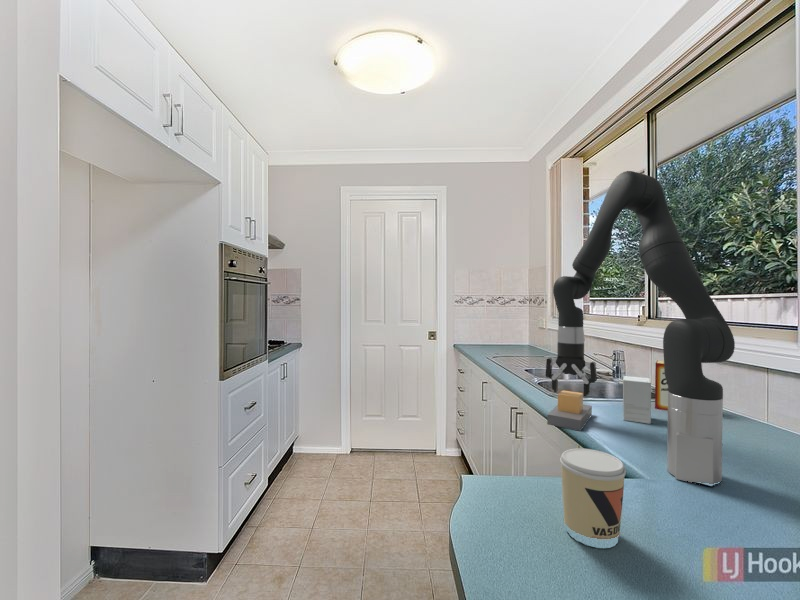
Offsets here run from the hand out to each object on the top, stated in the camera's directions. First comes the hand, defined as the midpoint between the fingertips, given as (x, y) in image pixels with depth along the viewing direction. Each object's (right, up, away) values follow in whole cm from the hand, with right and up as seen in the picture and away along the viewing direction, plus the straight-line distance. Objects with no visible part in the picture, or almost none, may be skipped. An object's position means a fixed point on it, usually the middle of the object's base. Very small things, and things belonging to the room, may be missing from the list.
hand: (570, 393), depth 118 cm
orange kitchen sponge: (0, -5, 0) cm, 5 cm away
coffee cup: (-22, -9, -57) cm, 61 cm away
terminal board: (0, -8, 0) cm, 8 cm away
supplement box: (+21, -8, +1) cm, 23 cm away
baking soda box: (+40, -8, +12) cm, 43 cm away
